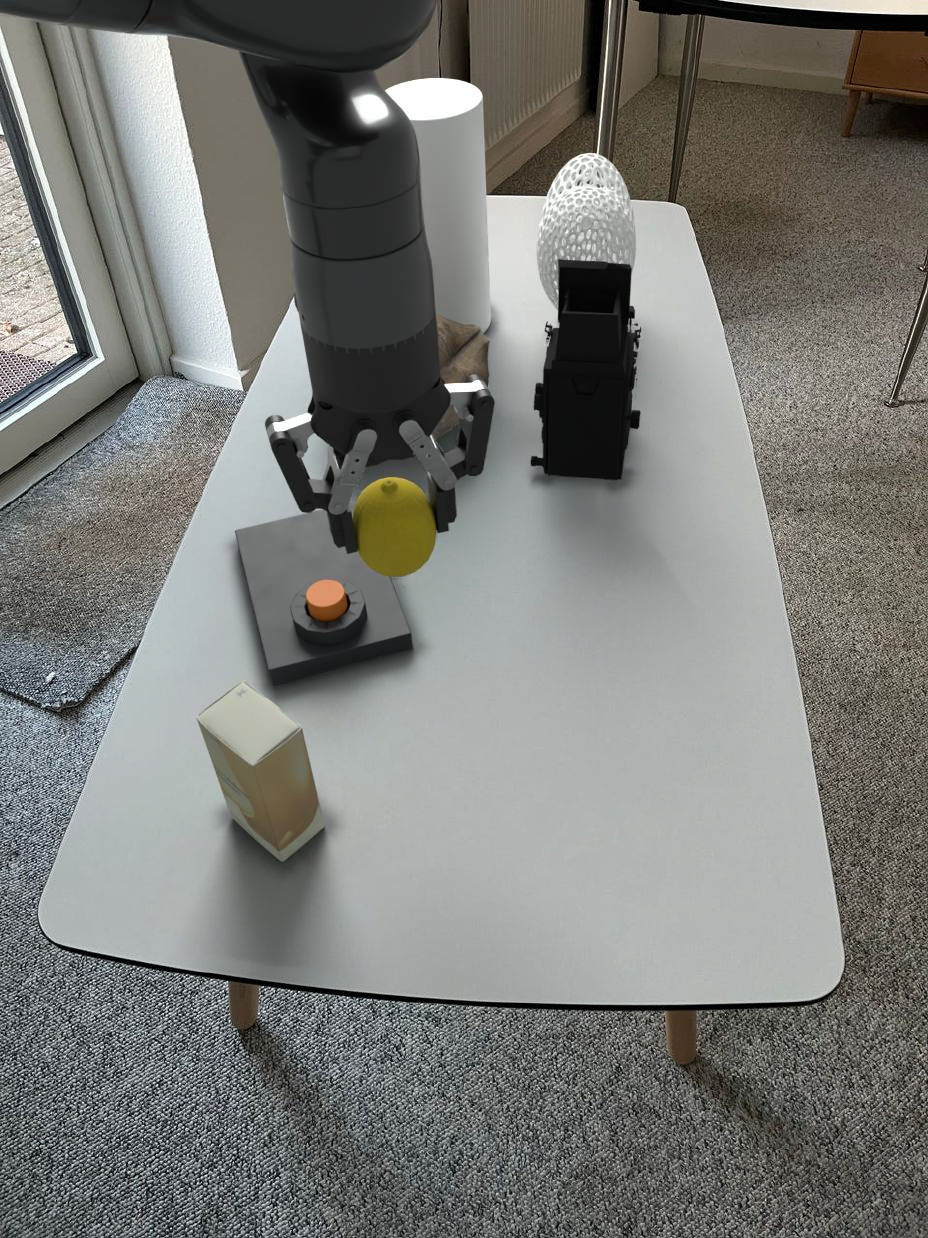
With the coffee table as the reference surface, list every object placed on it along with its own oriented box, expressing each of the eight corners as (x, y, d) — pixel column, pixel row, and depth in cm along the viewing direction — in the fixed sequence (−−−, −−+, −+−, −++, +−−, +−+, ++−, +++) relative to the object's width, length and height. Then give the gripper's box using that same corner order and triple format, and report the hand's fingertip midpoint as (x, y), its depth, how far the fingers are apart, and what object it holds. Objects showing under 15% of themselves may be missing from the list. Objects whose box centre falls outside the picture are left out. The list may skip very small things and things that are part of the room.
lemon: (350, 597, 72) (335, 506, 66) (370, 541, 76) (357, 451, 70) (431, 605, 71) (422, 513, 65) (447, 548, 75) (440, 457, 69)
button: (313, 625, 88) (309, 611, 86) (305, 599, 90) (302, 584, 89) (351, 616, 88) (348, 601, 87) (342, 590, 90) (339, 575, 89)
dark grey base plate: (272, 685, 88) (264, 657, 85) (238, 545, 100) (230, 516, 97) (413, 648, 90) (409, 619, 87) (363, 515, 102) (358, 486, 99)
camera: (642, 404, 111) (657, 220, 97) (632, 488, 102) (648, 298, 88) (546, 398, 113) (547, 216, 98) (529, 480, 104) (527, 292, 89)
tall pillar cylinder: (384, 337, 123) (357, 113, 105) (422, 291, 129) (402, 72, 111) (470, 353, 120) (457, 125, 101) (504, 305, 126) (498, 82, 108)
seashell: (528, 322, 108) (413, 246, 99) (494, 474, 104) (372, 411, 95) (432, 356, 120) (322, 292, 111) (399, 494, 117) (283, 439, 108)
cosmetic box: (228, 816, 79) (189, 714, 70) (273, 779, 81) (240, 675, 72) (284, 867, 76) (251, 766, 67) (330, 827, 78) (303, 725, 69)
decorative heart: (631, 366, 116) (642, 215, 104) (533, 365, 117) (532, 215, 105) (629, 281, 129) (639, 136, 116) (540, 281, 130) (540, 137, 117)
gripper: (246, 367, 55) (298, 598, 67) (512, 315, 57) (516, 547, 70) (227, 296, 60) (279, 523, 72) (473, 251, 62) (482, 478, 75)
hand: (395, 533), depth 71 cm, fingers closed on lemon, 5 cm apart
